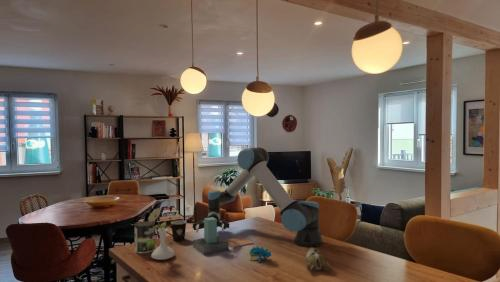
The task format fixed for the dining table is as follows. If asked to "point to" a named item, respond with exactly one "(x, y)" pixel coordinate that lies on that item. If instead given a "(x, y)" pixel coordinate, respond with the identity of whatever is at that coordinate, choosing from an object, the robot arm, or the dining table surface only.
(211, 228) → the peg
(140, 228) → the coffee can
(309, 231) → the robot arm
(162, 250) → the flower in vase
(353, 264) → the dining table surface
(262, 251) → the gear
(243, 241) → the mat
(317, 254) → the ceramic sculpture
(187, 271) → the dining table surface
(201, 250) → the socket block
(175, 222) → the coffee mug
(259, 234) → the dining table surface
